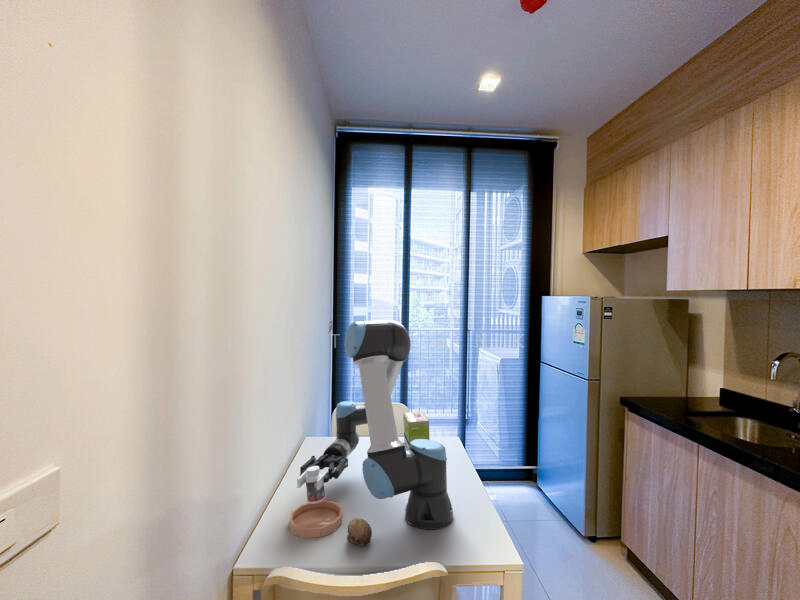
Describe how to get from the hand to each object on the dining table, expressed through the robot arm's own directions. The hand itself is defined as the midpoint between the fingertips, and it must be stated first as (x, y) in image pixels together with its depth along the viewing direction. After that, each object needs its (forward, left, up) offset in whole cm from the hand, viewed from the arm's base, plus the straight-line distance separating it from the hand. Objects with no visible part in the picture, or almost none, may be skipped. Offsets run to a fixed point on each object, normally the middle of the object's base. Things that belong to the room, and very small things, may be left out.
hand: (308, 484), depth 111 cm
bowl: (+3, -4, -14) cm, 15 cm away
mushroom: (-14, -10, -14) cm, 22 cm away
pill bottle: (+2, -4, -7) cm, 8 cm away
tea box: (+32, -66, -14) cm, 75 cm away
